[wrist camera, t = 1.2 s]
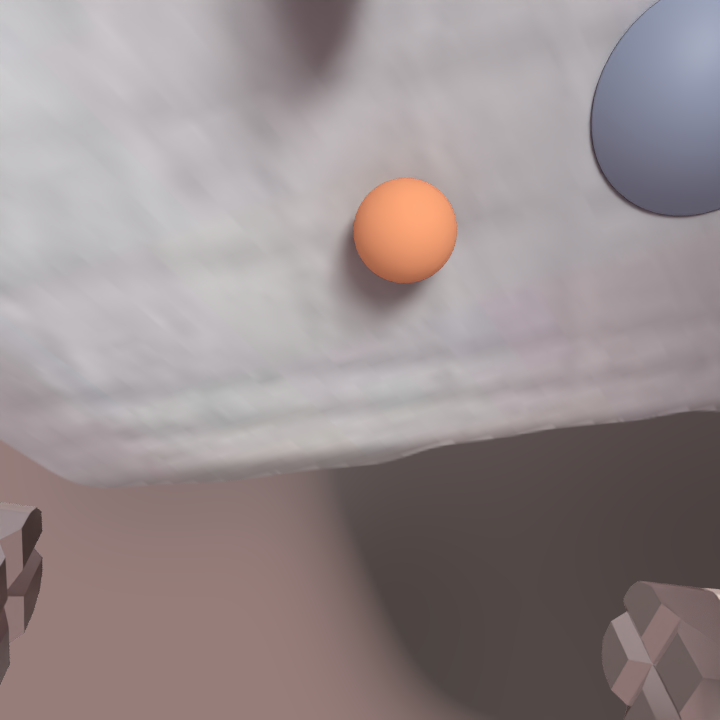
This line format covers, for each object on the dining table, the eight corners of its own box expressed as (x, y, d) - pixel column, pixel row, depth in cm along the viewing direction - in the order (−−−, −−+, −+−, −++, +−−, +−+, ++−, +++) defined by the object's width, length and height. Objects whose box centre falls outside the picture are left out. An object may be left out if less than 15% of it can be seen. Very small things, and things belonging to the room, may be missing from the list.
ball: (432, 151, 37) (446, 178, 32) (461, 241, 40) (477, 279, 35) (338, 187, 38) (337, 218, 33) (372, 273, 40) (375, 313, 36)
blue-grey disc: (820, -69, 32) (823, -69, 32) (827, 170, 38) (829, 171, 38) (570, 30, 34) (571, 30, 34) (612, 243, 40) (613, 244, 40)
